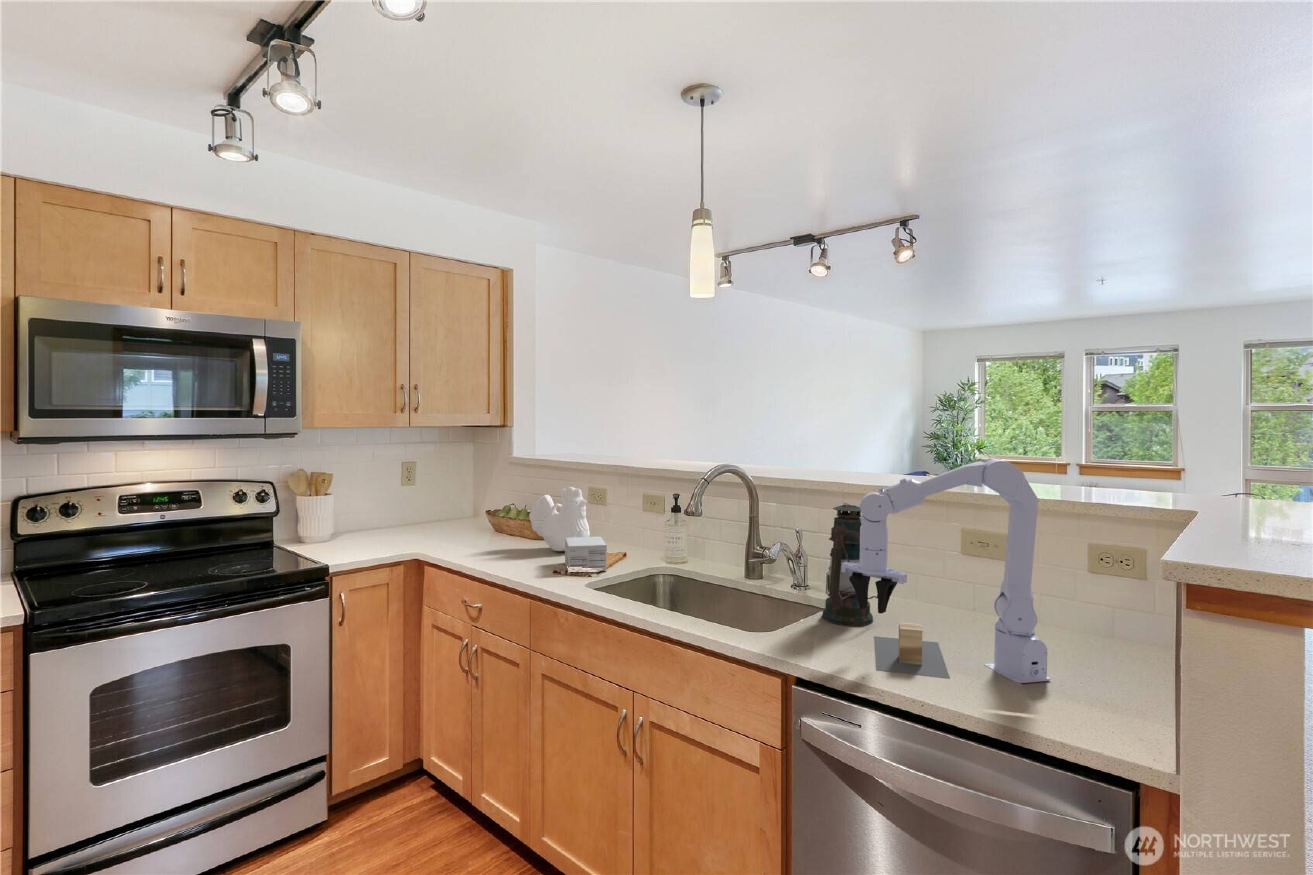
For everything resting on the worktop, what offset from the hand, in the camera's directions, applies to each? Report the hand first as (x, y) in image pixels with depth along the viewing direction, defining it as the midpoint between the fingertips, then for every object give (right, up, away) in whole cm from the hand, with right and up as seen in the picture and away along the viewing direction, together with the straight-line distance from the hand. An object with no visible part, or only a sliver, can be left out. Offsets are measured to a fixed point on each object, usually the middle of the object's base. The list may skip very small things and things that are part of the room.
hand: (872, 610), depth 145 cm
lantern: (+3, -10, +28) cm, 29 cm away
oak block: (+7, -10, -3) cm, 13 cm away
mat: (+8, -10, 0) cm, 13 cm away
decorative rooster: (-85, -6, +114) cm, 142 cm away
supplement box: (-72, -8, +84) cm, 111 cm away
